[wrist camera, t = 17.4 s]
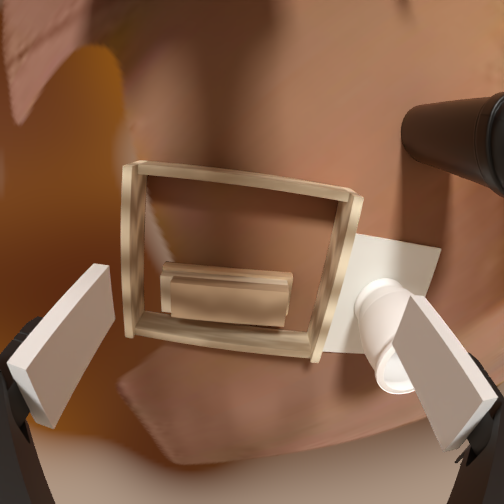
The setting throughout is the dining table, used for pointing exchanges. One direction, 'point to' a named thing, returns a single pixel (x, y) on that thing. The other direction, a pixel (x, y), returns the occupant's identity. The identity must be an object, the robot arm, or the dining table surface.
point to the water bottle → (460, 138)
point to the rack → (219, 332)
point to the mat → (373, 268)
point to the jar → (383, 331)
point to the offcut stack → (225, 294)
